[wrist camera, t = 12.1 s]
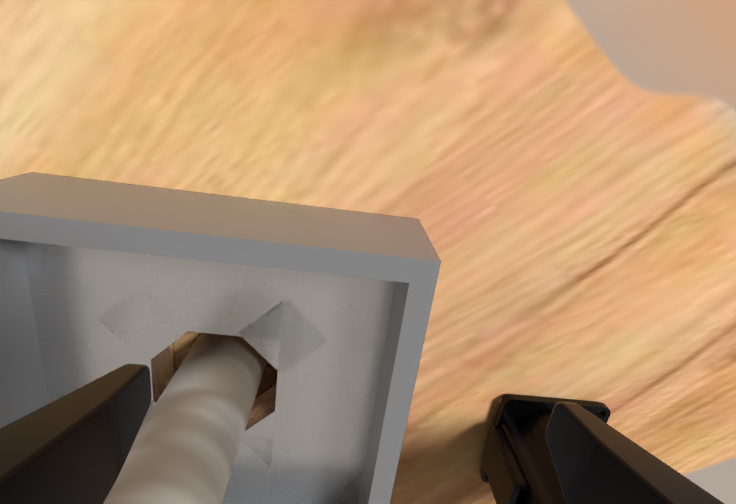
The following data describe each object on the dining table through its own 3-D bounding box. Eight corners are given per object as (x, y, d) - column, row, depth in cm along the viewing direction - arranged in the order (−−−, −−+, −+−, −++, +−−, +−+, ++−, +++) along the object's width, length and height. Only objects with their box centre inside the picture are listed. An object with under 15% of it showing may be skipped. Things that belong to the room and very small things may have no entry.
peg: (268, 328, 22) (206, 500, 13) (265, 389, 23) (206, 583, 14) (192, 321, 22) (71, 491, 12) (193, 382, 23) (85, 577, 14)
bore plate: (395, 235, 20) (400, 253, 18) (355, 473, 26) (356, 511, 24) (57, 196, 19) (16, 210, 17) (92, 455, 25) (64, 492, 22)
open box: (418, 219, 20) (441, 261, 15) (369, 486, 26) (373, 580, 21) (31, 172, 19) (-91, 201, 14) (76, 466, 25) (5, 562, 20)
